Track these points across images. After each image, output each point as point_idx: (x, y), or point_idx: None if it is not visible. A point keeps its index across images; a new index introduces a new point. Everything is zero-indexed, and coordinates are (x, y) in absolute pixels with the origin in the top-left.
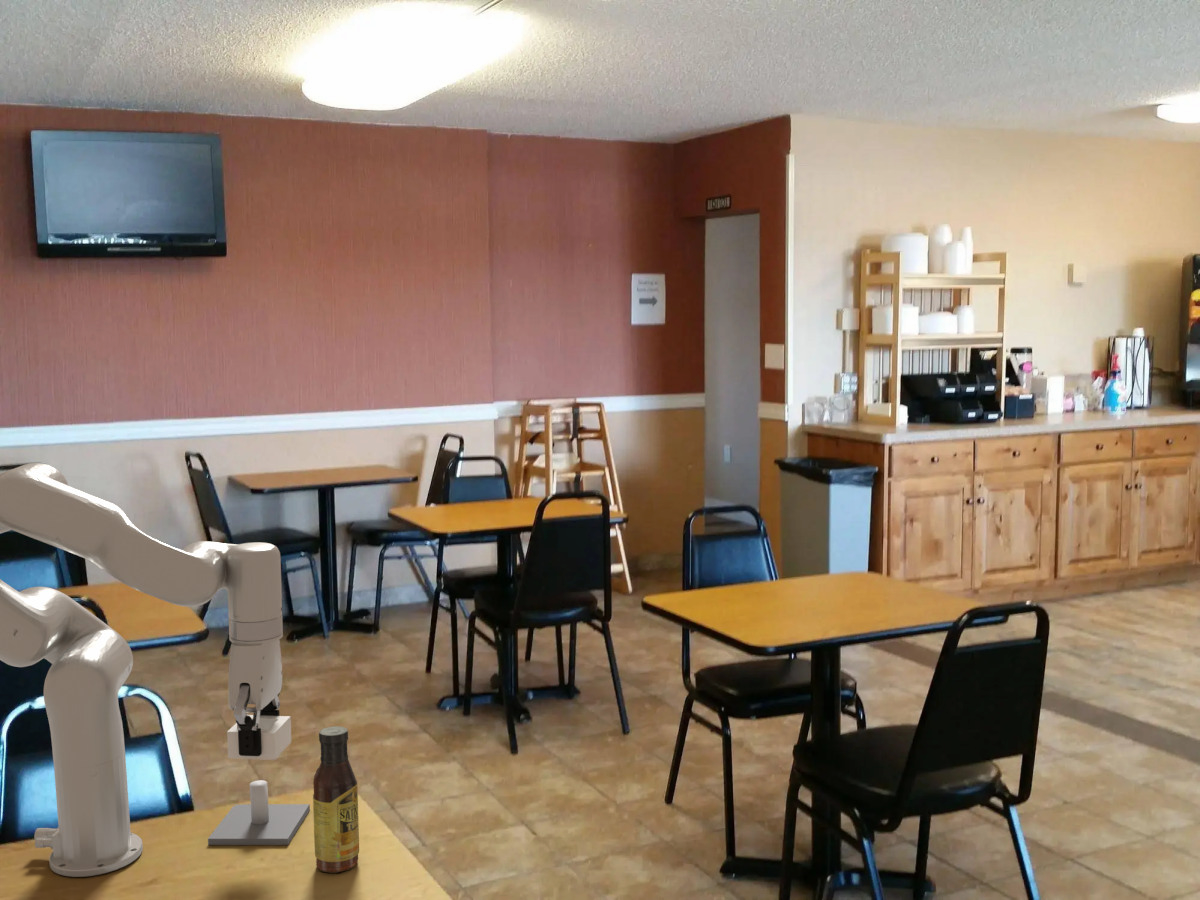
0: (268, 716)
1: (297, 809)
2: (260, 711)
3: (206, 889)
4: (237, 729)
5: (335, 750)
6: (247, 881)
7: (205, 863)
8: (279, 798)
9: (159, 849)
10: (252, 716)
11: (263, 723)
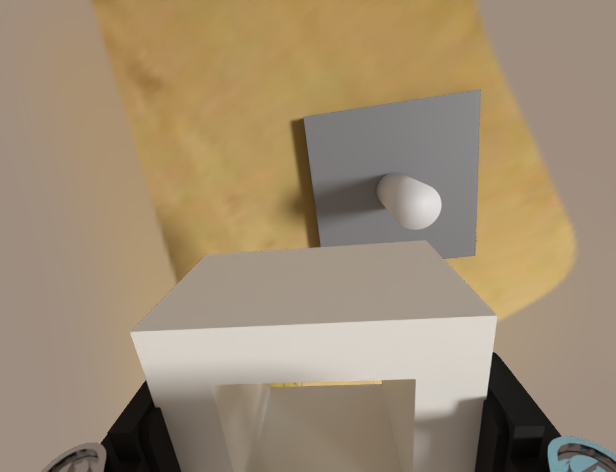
0: (462, 459)
1: (449, 242)
2: (506, 438)
3: (154, 199)
4: (57, 458)
5: None
6: (195, 252)
7: (234, 151)
8: (535, 166)
9: (270, 13)
10: (456, 376)
11: (406, 417)
